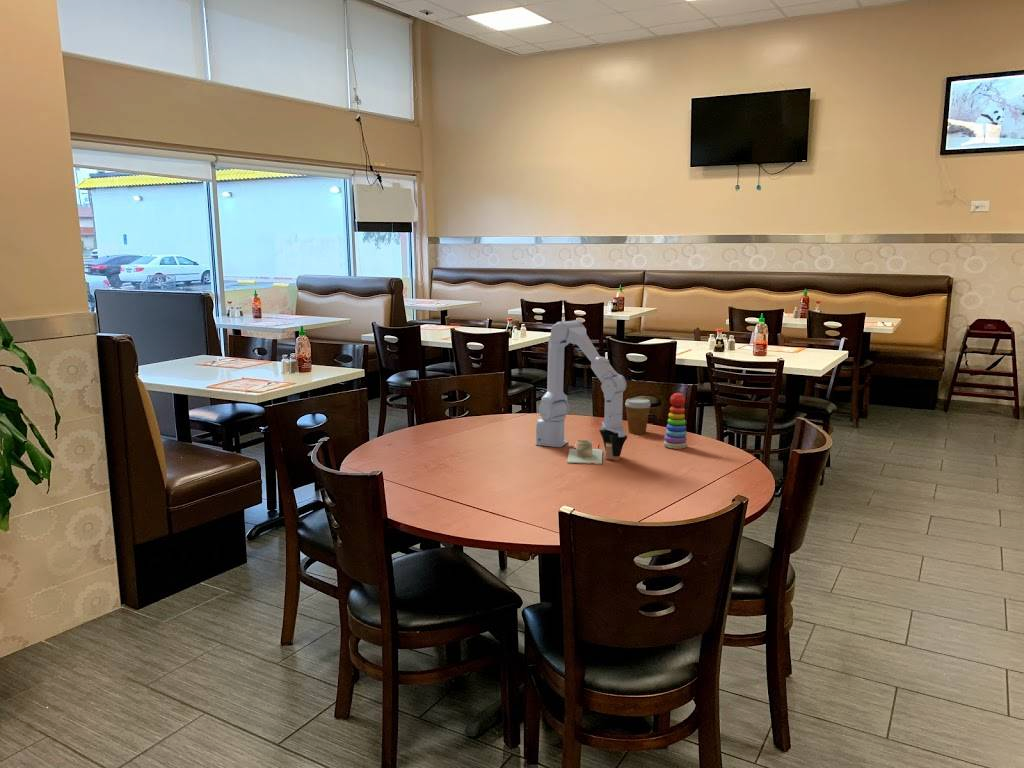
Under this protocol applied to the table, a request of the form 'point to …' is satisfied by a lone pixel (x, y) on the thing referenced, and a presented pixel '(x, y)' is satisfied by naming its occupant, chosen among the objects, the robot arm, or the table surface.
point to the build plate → (594, 459)
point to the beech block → (584, 448)
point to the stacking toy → (676, 424)
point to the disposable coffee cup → (637, 414)
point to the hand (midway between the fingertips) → (612, 453)
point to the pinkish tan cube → (610, 452)
